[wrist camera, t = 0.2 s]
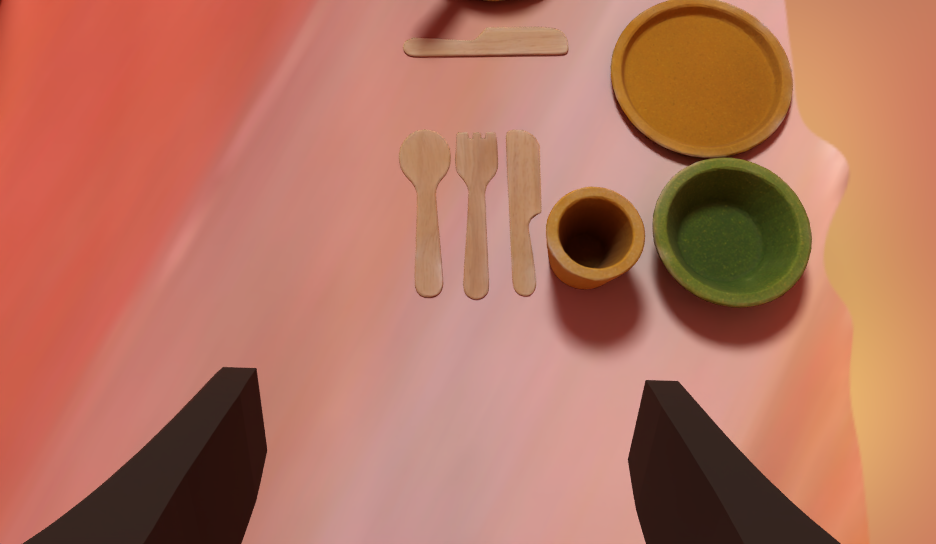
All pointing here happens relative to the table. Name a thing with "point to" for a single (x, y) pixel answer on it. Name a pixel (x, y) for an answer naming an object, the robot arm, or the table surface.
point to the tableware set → (663, 121)
